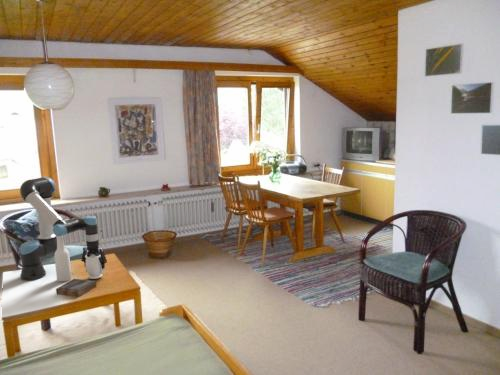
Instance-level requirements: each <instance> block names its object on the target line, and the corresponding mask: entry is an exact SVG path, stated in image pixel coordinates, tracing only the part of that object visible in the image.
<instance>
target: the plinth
mask: <svg viewBox="0 0 500 375" xmlns="http://www.w3.org/2000/svg"><path fill="white" fill-rule="evenodd" d="M96 287H97V282H96V280H89V279H78V278H72V279H70V280H69V281H67V282H66V283H64V284H62V285H60V286H58V287H57V288H55V291H56V295H58V296H68V297H74V298H80V297H82V296H84V295H85V294H87V293H88V292H90V291H91V290H93V289H94V288H95V289H96Z"/></svg>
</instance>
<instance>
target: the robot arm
mask: <svg viewBox="0 0 500 375" xmlns="http://www.w3.org/2000/svg"><path fill="white" fill-rule="evenodd" d="M56 191H57V187H56V183H55V181H54V180H53V179H52V178H51V177H49V176H48V177H47V176H44V177H37V178H32V179H27V180H25V181H24V182H22V184H21V185H20V189H19V194H20V197H22V198H21V199H22V200H23V201H24V202H25V203H26V204H30V206H32V208H34V210H36V211H37V218H38V229H39V235H38V236H37V240H36V239H32V240H28V241H26V242H24V243H22V244H21V245H20V250H19V253H20V258H21V272H20V280H22V281H34V280H39V279H41V278H43V277H46V274H47V273H46V272H47V271H46V269H45V268H44V265H43V264H42V259H44V258H46V257H48V256H52V255H54V254H55V251H56V250H57V237H56V236H63V237H64V236H66V235H68V234H69V235H70V234H73V233H75V232H79V231H85V232H84V233H85V239H86V240H85V242H86V246H84V247H83V248H82V256H81V260H80V261H81V262H83V263H84V267H85V273H88V272H87V268H86V258H85V255H87V257H90V255H91V254H95V256H99V255H101V257H100V258H99V261H100V263H101V264H100V271H101V274H102V275H103V274H104V273H105V268H106V267H105V266H106V265H105V264H106V263H107V262H108V260H107V256H106V254H105V252H104V248H103V247H101V248H100V247H99V245H100V240H99V230H98V220H97V216H95V215H87V216H84V218H81V217H73V218H71V219H70V220H68V221H66V220H65V219H63V217H61V216H60V214H58V212H57V211H56V210H54V208H52V201H51V199H52V198H53V196H54V193H56Z"/></svg>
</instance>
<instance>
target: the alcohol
mask: <svg viewBox="0 0 500 375" xmlns="http://www.w3.org/2000/svg"><path fill="white" fill-rule="evenodd" d="M56 237H57V250H56V251H55V254H53V255H54V264H55V273H56V280H57V282H59V283H63V282H64V283H65V282H69V281H71V280H72V279H73V278H72V277H73V276H72V270H71V268H72V267H71V259H70V252H69V250H68V249H67V248H66V246H65V240H64V236H56Z"/></svg>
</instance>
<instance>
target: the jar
mask: <svg viewBox="0 0 500 375" xmlns="http://www.w3.org/2000/svg"><path fill="white" fill-rule="evenodd" d="M100 257H101V255H99V256H95V254H91V255H90V257H87V254H86V255H85V258H86V267H85V269H86V268H87V272H86V273H87V274H88V279H92V280H96V279H99V278H102V277H103V274H101V271H100V264H101V263H100V261H99V258H100Z"/></svg>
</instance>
